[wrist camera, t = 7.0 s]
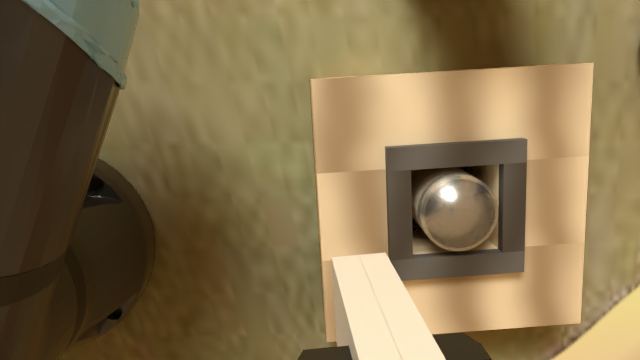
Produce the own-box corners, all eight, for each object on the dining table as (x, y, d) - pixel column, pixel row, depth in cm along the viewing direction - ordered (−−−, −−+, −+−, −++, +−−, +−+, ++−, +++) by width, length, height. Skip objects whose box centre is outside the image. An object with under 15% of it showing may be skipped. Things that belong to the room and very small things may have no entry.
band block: (323, 308, 41) (327, 348, 35) (309, 78, 37) (311, 80, 31) (545, 292, 41) (586, 328, 36) (553, 64, 38) (600, 62, 32)
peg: (404, 228, 39) (422, 253, 33) (402, 163, 38) (420, 178, 32) (469, 223, 39) (498, 248, 34) (469, 158, 38) (499, 173, 33)
